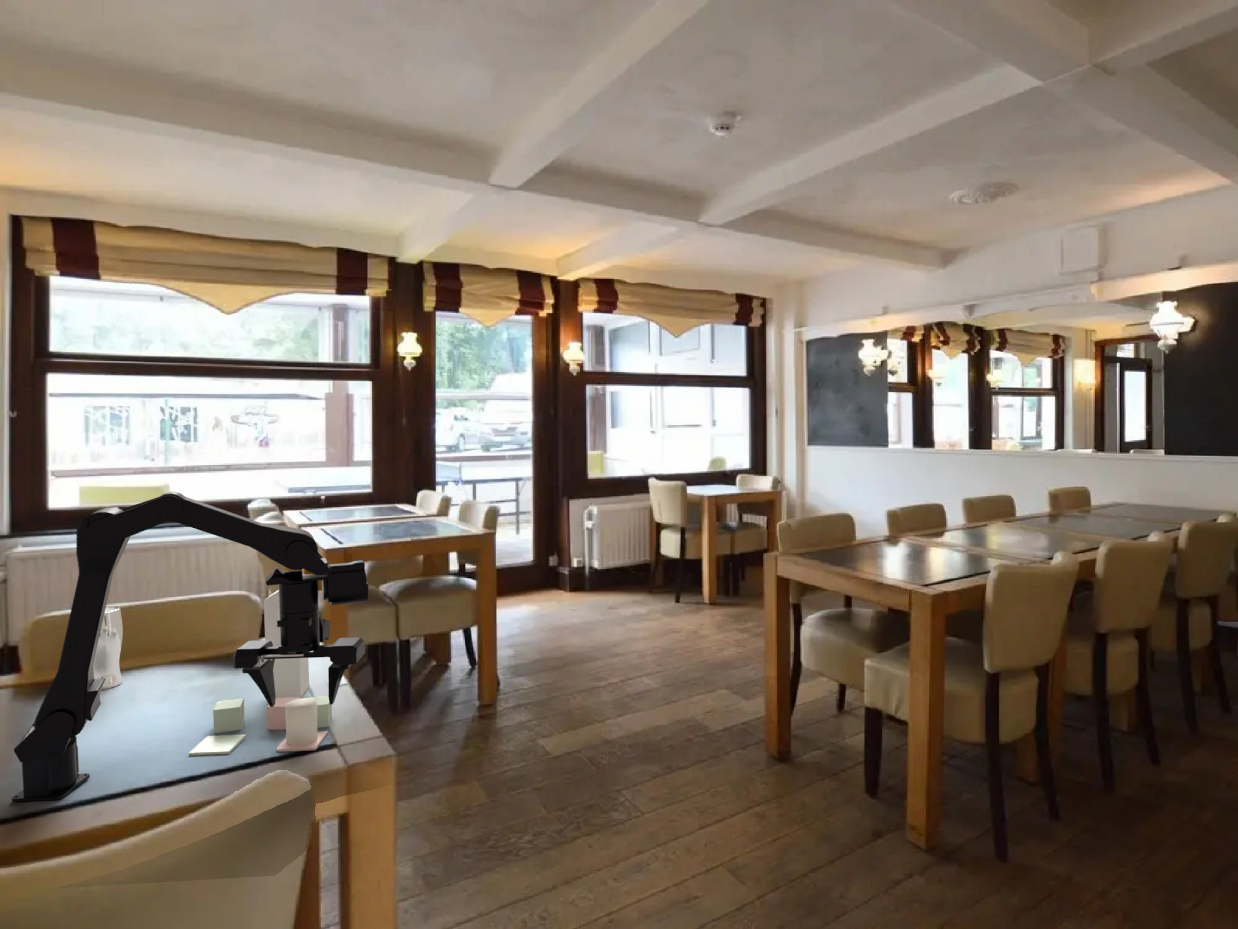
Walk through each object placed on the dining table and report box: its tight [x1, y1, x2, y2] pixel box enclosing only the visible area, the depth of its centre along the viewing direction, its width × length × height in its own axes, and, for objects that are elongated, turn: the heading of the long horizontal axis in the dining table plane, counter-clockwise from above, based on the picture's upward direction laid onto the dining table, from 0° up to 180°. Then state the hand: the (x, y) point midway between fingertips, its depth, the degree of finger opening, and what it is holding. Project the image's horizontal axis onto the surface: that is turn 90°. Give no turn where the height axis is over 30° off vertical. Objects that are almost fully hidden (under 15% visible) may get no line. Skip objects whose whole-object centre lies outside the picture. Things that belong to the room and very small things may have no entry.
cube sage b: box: [212, 697, 245, 734], centre depth 121 cm, size 4×4×4 cm
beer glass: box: [93, 605, 124, 691], centre depth 141 cm, size 7×7×15 cm
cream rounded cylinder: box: [285, 697, 318, 746], centre depth 115 cm, size 5×5×6 cm
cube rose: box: [266, 697, 302, 731], centre depth 122 cm, size 4×4×4 cm
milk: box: [263, 589, 310, 699], centre depth 136 cm, size 6×6×22 cm
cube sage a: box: [306, 695, 333, 729], centre depth 123 cm, size 4×4×4 cm
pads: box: [188, 730, 329, 756], centre depth 115 cm, size 6×19×1 cm, turn 95°
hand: (302, 704), depth 115 cm, fingers open, 9 cm apart
